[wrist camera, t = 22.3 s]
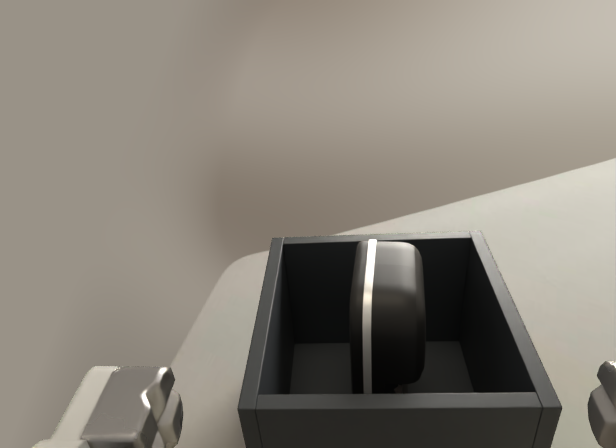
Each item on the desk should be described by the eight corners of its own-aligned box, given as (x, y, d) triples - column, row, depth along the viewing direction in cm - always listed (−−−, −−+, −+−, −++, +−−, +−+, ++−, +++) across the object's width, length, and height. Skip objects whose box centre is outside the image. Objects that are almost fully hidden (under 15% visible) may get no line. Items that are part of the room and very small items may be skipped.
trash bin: (263, 529, 27) (236, 409, 21) (286, 344, 38) (272, 237, 33) (525, 533, 25) (563, 407, 20) (466, 340, 37) (481, 230, 32)
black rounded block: (420, 463, 28) (431, 310, 22) (353, 456, 29) (347, 306, 23) (417, 369, 34) (425, 228, 28) (361, 365, 35) (358, 226, 29)
